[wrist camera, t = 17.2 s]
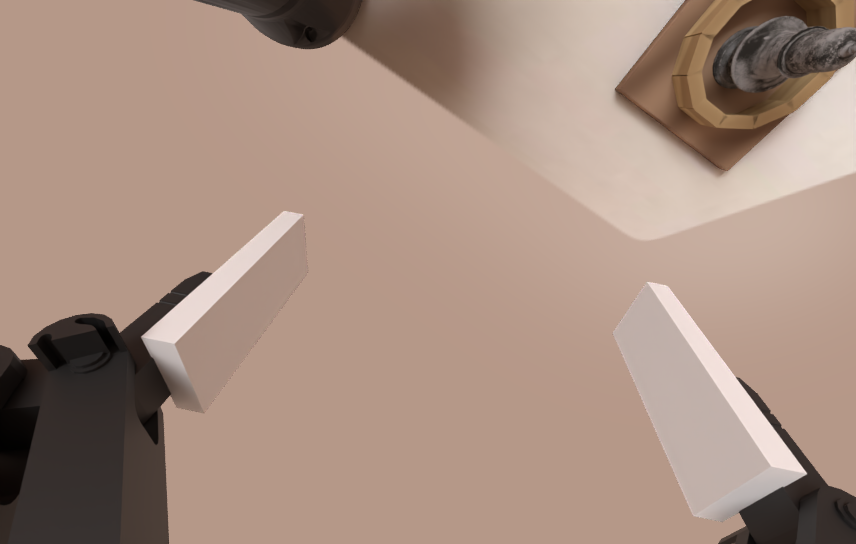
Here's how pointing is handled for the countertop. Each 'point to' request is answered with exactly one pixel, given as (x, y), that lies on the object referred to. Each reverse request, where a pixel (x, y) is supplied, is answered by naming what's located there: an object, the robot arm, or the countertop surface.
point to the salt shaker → (781, 53)
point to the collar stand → (694, 82)
